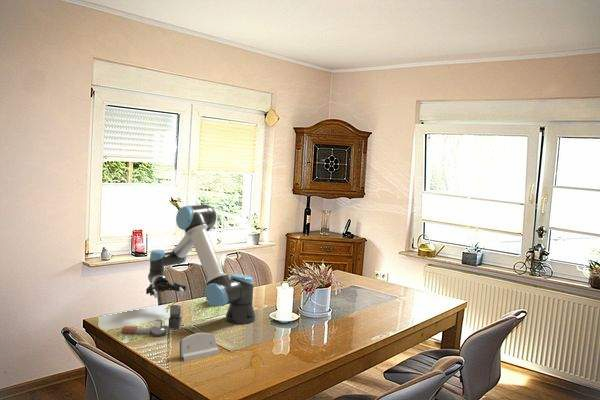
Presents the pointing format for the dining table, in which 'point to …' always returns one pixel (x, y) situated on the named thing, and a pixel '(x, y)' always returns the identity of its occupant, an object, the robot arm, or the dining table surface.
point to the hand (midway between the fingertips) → (170, 294)
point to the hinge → (197, 346)
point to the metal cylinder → (175, 317)
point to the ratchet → (146, 330)
